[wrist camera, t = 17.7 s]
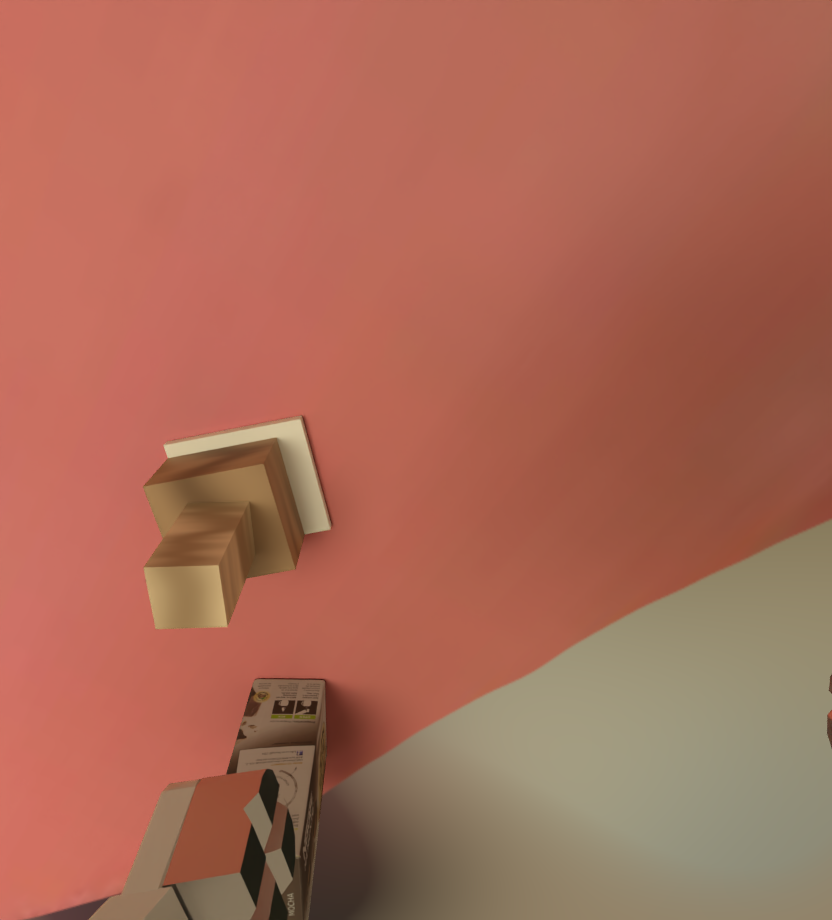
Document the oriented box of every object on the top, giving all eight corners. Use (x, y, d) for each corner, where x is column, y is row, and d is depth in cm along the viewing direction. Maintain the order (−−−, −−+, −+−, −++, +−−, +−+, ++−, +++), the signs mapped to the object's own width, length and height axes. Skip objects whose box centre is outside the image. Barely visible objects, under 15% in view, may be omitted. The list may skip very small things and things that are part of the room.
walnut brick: (276, 437, 46) (263, 463, 41) (304, 534, 49) (295, 569, 44) (168, 458, 46) (142, 486, 41) (202, 553, 49) (182, 590, 44)
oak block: (249, 501, 42) (218, 565, 34) (255, 554, 43) (227, 626, 36) (187, 502, 42) (143, 567, 34) (196, 556, 43) (155, 629, 36)
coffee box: (251, 677, 54) (197, 857, 39) (327, 678, 55) (302, 856, 40) (256, 758, 58) (209, 952, 43) (328, 758, 58) (306, 950, 43)
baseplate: (301, 415, 46) (300, 418, 45) (331, 524, 49) (330, 529, 48) (167, 441, 46) (163, 445, 46) (205, 548, 50) (202, 553, 49)
